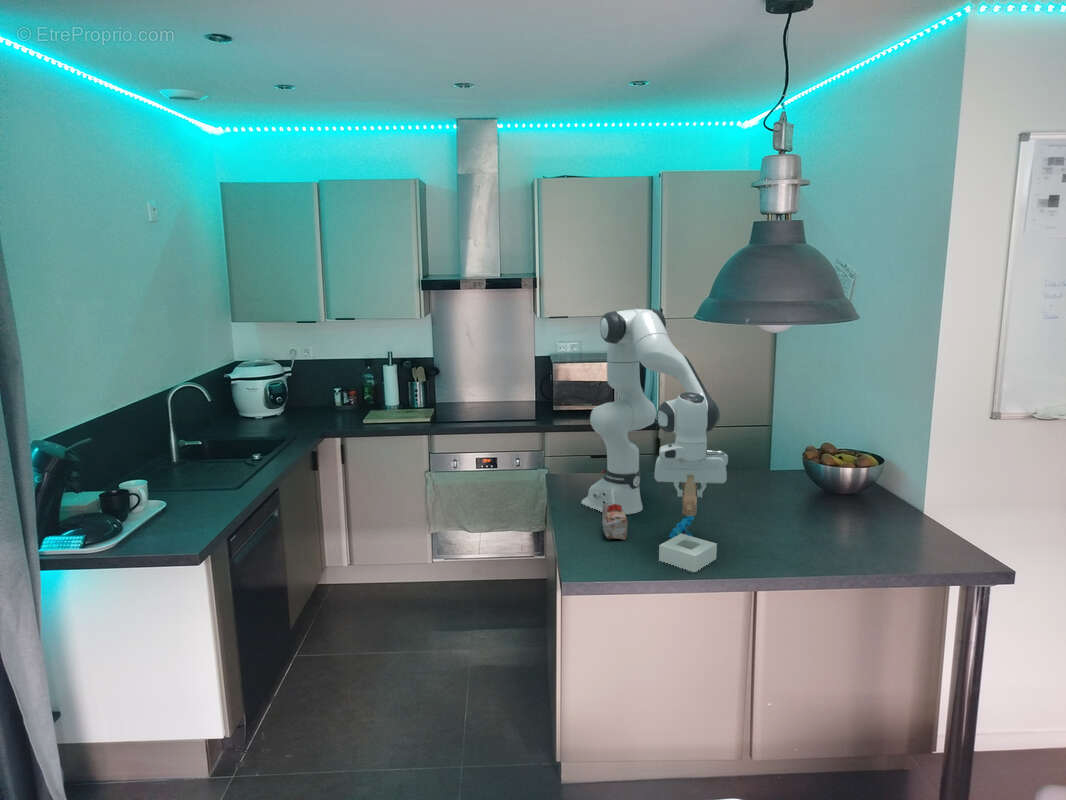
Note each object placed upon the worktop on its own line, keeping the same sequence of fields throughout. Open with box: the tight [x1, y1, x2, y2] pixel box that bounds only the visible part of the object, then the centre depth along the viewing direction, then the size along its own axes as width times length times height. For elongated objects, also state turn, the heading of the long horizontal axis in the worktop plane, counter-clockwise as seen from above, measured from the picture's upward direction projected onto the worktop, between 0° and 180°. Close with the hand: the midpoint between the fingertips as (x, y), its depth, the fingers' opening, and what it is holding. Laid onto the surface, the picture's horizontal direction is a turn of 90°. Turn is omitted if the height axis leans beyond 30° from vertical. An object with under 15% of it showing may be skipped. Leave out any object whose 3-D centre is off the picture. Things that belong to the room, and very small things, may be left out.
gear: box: [668, 516, 695, 539], centre depth 226 cm, size 11×6×10 cm
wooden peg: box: [681, 475, 698, 517], centre depth 206 cm, size 4×4×12 cm
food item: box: [601, 503, 628, 541], centre depth 230 cm, size 14×8×10 cm, turn 3°
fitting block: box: [658, 534, 718, 573], centre depth 210 cm, size 12×12×5 cm
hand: (689, 496), depth 206 cm, fingers closed on wooden peg, 4 cm apart
